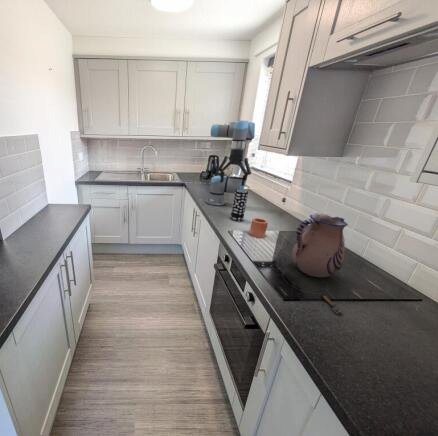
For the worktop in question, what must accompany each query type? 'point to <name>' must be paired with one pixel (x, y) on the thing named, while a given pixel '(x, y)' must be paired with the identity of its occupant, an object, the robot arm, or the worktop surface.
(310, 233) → the ceramic pitcher
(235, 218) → the spotted tube
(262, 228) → the cup
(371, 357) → the worktop surface
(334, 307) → the can opener
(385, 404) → the worktop surface
